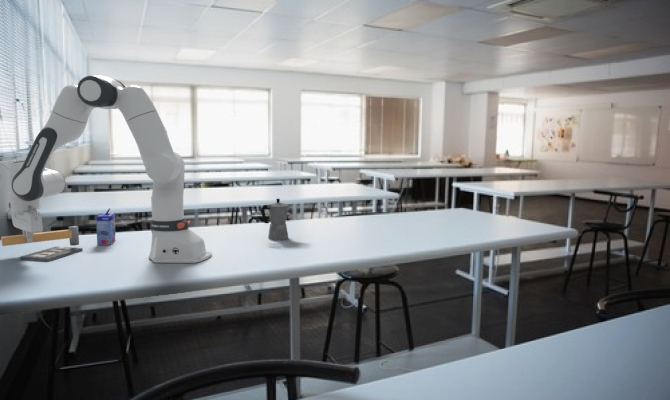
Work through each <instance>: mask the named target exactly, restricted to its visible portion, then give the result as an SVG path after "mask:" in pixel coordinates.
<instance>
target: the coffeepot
mask: <svg viewBox="0 0 670 400" xmlns="http://www.w3.org/2000/svg"><path fill="white" fill-rule="evenodd" d="M275 201H276V202H274V203H270V204H264V205H262V207H261V208H260V214H261V217H262V219H263V223H264V224H269V223H270V224H269V230H268V235H267V237H268V239H269V240H270V241H284V240H287V239H289V233H288V227H287V223H286V221H287V220H288V212H289V208H290V207H291V206H292V205H291V204H289V203H283V202H280V201H281V198H276V200H275ZM266 210H268V215H269V220H267V216H266Z"/></svg>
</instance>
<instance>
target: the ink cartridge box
mask: <svg viewBox="0 0 670 400" xmlns="http://www.w3.org/2000/svg"><path fill="white" fill-rule="evenodd" d="M110 211H111V208H108V209H107V211H106V212H102V213H100V214H98V215H97V216H96V217H95V218H96V245H97V246H111V245H112V244H113V243H114V242H116V213H115V212H110Z"/></svg>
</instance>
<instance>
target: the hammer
mask: <svg viewBox="0 0 670 400" xmlns="http://www.w3.org/2000/svg"><path fill="white" fill-rule="evenodd" d="M79 235H80V234H79V226H78V225H72V226H68V229H61V230H60V229H59V230H51V231H45V232H44V231H42V232H40V233H34V234H33V242H30V243H28V242H25V237H24V234H23V233H22V234H16V235H13V234H12V235H6V236H4V235H3V236H1V237H0V239H1V246H2V247H7V246H15V245H23V244H33V243H39V242H48V241H57V240H64V239H66V240H67V239H69V246H73V247H74V246H79V245H80V237H79Z"/></svg>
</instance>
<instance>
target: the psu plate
mask: <svg viewBox="0 0 670 400" xmlns="http://www.w3.org/2000/svg"><path fill="white" fill-rule="evenodd" d="M83 251H84V250H83V248H82V247H70V246H69V247H67V246H53V247H49V248H46V249H41V250H39V251H35V252H31V253H29V254H25V255H20V256H19V259H20V260H23V261H24V260H25V261H38V262H52V261H55V260H57V259H58V260H59V259H61V258H65V257H68V256H70V255H74V254H77V253H79V252H83Z"/></svg>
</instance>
